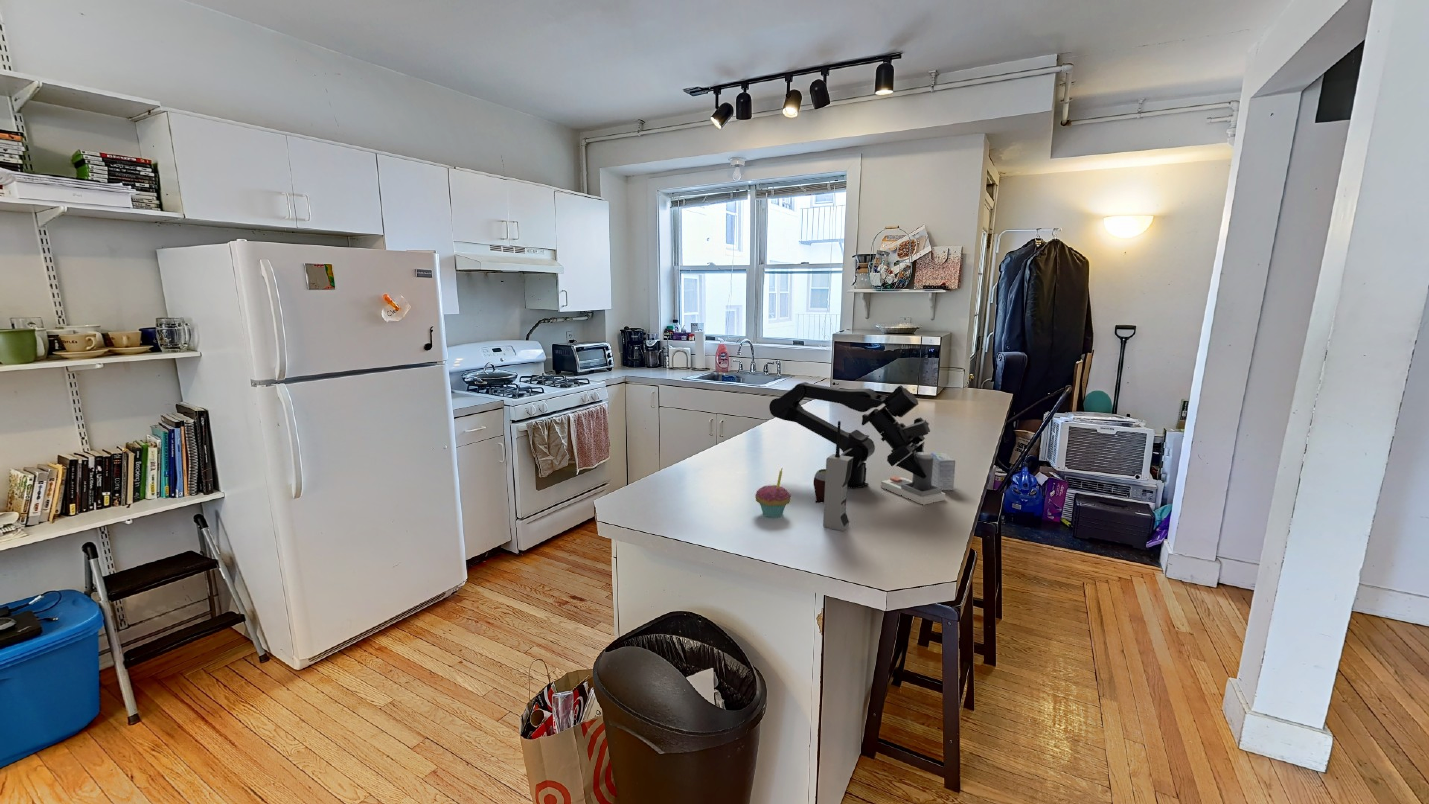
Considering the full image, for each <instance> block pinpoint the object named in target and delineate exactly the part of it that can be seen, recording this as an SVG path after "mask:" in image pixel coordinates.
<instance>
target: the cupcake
mask: <svg viewBox="0 0 1429 804" xmlns="http://www.w3.org/2000/svg"><path fill="white" fill-rule="evenodd" d="M778 473H779V474H778V479H777V483H776V484H773V485H770V484H769V485H764V486H762V487H760V488H758V489H757V490H756V492H755V494H754V495H755V501H756V503H759V506H760V508H761V512H762V515H763V516H765V517H767V518H772V519H776V518H781V517H782V516H783V514H784V512H785V508H786V507H787V505H788V504H790V501H791V497H792V494H791V493H790V492H789V491H788V489H786V488H785V487H783V486H780V485H781V480H782V476H783V467H782V468H781V470H779V472H778Z"/></svg>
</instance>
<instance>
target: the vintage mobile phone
mask: <svg viewBox="0 0 1429 804" xmlns="http://www.w3.org/2000/svg"><path fill="white" fill-rule="evenodd" d="M841 423H842V422H841V421H840V420H839V421H837V427H838V431H837V442H836V444H835V454H834V453H832V454H831V455H829V456H828V457H826V461H825V469H826V476H825V496H824V502H823V516H822V518H823V520H822V521H823V522H822V526H823V528H825V529H830V530H834V531H838V532H844V531H845V530H847V528H848V527H850V520H849V518H848V515H847V498H848V487H847V484H848V480H849V478H850V475H851V469H852V462H853V457H849V456H842V455H841V454H840V451H841V449H840V429H841V425H842V424H841Z"/></svg>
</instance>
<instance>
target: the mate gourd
mask: <svg viewBox="0 0 1429 804" xmlns="http://www.w3.org/2000/svg"><path fill="white" fill-rule="evenodd" d="M851 449H852V448H851ZM851 449H849V450H847V451H845V452H843V451H842V453H841V454H840V455H842V456H843V455H844V454H846V453H847V452H848V451H850V450H851ZM825 476H826V468H822V469H819V470H817V471H816V473H815V474H814V477H813V488H814V494H815V499H816V500H815V501H814V502H815V503H816V504H822V503H823V504H824V496H825Z"/></svg>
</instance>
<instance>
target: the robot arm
mask: <svg viewBox="0 0 1429 804" xmlns="http://www.w3.org/2000/svg"><path fill="white" fill-rule="evenodd" d="M805 398H808V399H813V400H817V401H818V400H819V401H825V402H830V403H836V404H840V405H843V406H845V407H846V408H848V409H851V410H854V411H856V412H859V413H864V414H862V415H861V418H862V419H861V426H865V425H866V424H868V423H870V424H871V425H872V427H873V428H874V429H875V430H876V431H877V433H878V434H879V435H880V436H881V438H880V440H881V441H882V442H886V443H887V444H888V446H889V447H890V448H891V450H890V454H889V455H887V457H886V459H887V460H886V462H887V463H888V464H889V465H890V466H891V467H894V466H896V467H898V468H901V469H903V470H905V471H908V472H909V473H912V475H913V474H915V475H917V476H919V477H921V478H923V479H924V478H925V477H927V475H926V474H925V472H924V470H923V469H922V467H921V466H920V464H919V463H918V461H917V460H916V453H917V452H925V451H924V448H925V441H924V440H926V438H925V436H927V435H928V434H929V433H930V432H931V429H930V427H929V426H930V425H929V424H930V423H929V422H928V421H927V420H926V419H923V418H922V417H918V418H915V419H914V420H913V423H911V424H909V425H906V424H905V423H903V422H900V423H899V421H898V420H897V419H896V418H903V417H904V416H906V414H908V413H909V412H910V411H912V410H913V409H914V408H916V407H917V406H918V405H919V401H918V399H917V396H915V395H914V393H912V392H910V391H909V389H907V388H904V387H903V385H898V386H896V388H895V389H894V390H893V391H892V392H891V393H890V394H889V395H884V394H880V393H877V392H876V391H875V390H874V389H872V388H851V389H849V388H847V389H845V388H839V387H833V386H826V385H820V384H813V383H809V382H806V381H803V382H800V383H797V384H796V385H795V386H794V387H792V388H791V389H790V390H789V391H787V392H786V393H784V394H783V395H781V396H779V397H776V398H773V399H772V400H770V402H769V406H768V407H769V408H768V409H769V413H770V414H771V416H772V417H774V418H777V419H780V420H782V421H786V422H787V421H788V422H792V423H796V424H798V425H800V426H801V427H803V428H805V429H807V430H809V431H811V432H812V433H815V434H816V435H818V436H820V437H822V438H823V439H826V440H827V441H829V442H831V443H833V444H835V445H836V442H837V431H838V426H835V425H834V424H832V423H830V422H828V421H826V420H824V419H823V418H821V417H819V416H817V415H815V414H813V413H811V412H810V411H808V410H806V409H805V408H804V407H803V406H802V405H801V404H800V403H802V401H803V400H804V399H805ZM883 405H884V406H883ZM880 406H883V407H882V408H880V409H878V407H880ZM872 409H873V410H872ZM870 410H872V411H871V412H869V413H868V414H866V412H868V411H870ZM921 442H922V443H921ZM851 448H852V449H851ZM849 449H851V450H850V451H848V452H847V453H846V454H844V455H843V456H849V457H853V462H852V469H851V475H850V478H849V480H848V484H847V488H849V489H856V488H858V489H859V488H862V487H867V486H869V483H868V482H867V481H866V480H867V463H866V462H867V460H868V458H870V457H871V456H872V455H873V454H874V453H875V450H876V445H875V443H874V441H873V439H871V438H870V435H868V434H866V433H865V434H864V433H863V432H861V430H858V429H855V430H853V431H851V432H847V431H845V430H843V429H841V428H840V451H841V452H842V453H843V452H845V451H847V450H849Z"/></svg>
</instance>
